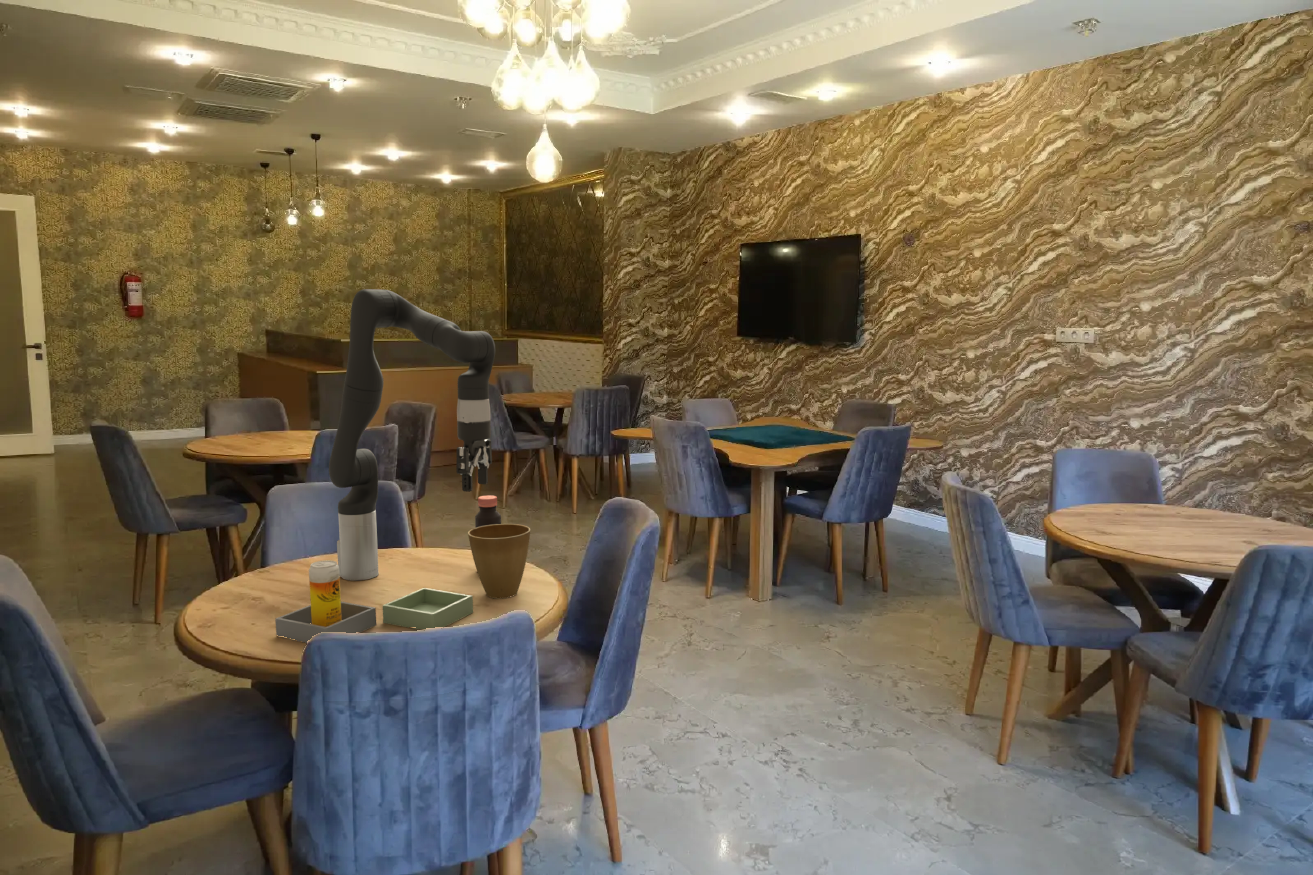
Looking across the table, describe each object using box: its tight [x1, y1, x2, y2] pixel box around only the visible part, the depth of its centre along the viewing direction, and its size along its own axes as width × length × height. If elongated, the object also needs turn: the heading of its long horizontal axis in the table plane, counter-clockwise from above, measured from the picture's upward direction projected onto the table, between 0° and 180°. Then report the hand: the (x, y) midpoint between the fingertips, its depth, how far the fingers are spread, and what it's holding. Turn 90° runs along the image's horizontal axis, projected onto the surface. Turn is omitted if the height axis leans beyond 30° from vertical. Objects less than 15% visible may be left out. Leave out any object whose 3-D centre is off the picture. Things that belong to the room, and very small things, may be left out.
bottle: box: [474, 494, 502, 528], centre depth 236 cm, size 7×7×20 cm
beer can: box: [308, 559, 342, 627], centre depth 192 cm, size 6×6×15 cm
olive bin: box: [382, 587, 474, 630], centre depth 201 cm, size 14×14×4 cm
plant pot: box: [467, 523, 531, 599], centre depth 217 cm, size 15×15×16 cm
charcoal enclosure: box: [275, 601, 377, 644], centre depth 193 cm, size 14×14×4 cm
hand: (475, 487), depth 208 cm, fingers open, 8 cm apart
